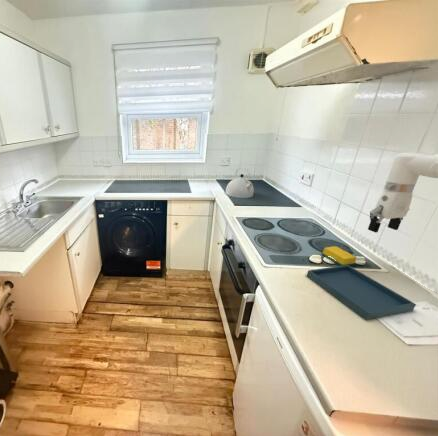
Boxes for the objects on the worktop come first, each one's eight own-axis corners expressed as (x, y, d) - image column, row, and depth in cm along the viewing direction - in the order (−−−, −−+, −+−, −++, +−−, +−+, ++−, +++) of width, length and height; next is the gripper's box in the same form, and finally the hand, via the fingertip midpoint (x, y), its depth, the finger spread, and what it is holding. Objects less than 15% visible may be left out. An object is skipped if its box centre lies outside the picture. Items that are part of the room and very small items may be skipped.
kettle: (261, 197, 194) (266, 170, 186) (237, 199, 189) (241, 171, 180) (242, 189, 217) (246, 164, 208) (220, 191, 211) (223, 165, 202)
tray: (345, 270, 101) (347, 264, 100) (412, 310, 80) (416, 304, 79) (306, 276, 97) (308, 270, 96) (365, 320, 76) (368, 313, 75)
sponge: (321, 254, 112) (324, 247, 111) (333, 253, 114) (335, 246, 112) (341, 266, 103) (344, 259, 102) (353, 265, 105) (357, 257, 103)
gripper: (391, 191, 82) (375, 236, 88) (429, 188, 85) (411, 231, 91) (368, 186, 89) (354, 228, 95) (405, 183, 92) (389, 224, 98)
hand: (382, 229), depth 93 cm, fingers open, 9 cm apart
